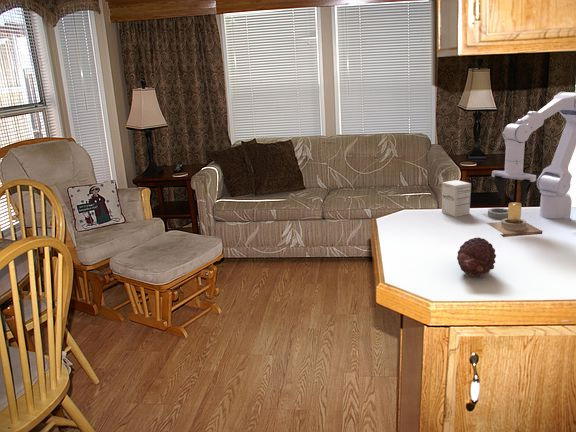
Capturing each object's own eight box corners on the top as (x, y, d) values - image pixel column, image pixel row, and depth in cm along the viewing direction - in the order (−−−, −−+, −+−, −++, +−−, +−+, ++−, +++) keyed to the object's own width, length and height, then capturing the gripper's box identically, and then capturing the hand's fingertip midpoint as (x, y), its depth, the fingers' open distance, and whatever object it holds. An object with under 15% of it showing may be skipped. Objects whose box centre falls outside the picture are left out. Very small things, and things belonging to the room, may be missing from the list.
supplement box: (440, 215, 207) (441, 182, 203) (456, 212, 210) (457, 179, 206) (454, 219, 200) (455, 185, 197) (470, 216, 203) (471, 182, 200)
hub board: (522, 223, 192) (522, 214, 191) (542, 234, 179) (542, 225, 179) (486, 225, 191) (486, 217, 190) (503, 237, 178) (504, 228, 178)
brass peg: (509, 224, 188) (510, 201, 185) (521, 226, 185) (523, 203, 183) (505, 227, 185) (507, 204, 182) (517, 229, 182) (519, 206, 180)
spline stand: (505, 214, 203) (505, 206, 202) (517, 221, 194) (517, 213, 194) (481, 216, 202) (482, 208, 201) (492, 223, 194) (493, 214, 193)
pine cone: (458, 260, 160) (459, 227, 157) (495, 263, 156) (497, 229, 154) (454, 283, 144) (455, 247, 141) (494, 287, 140) (496, 250, 138)
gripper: (487, 159, 186) (486, 198, 190) (530, 164, 175) (527, 205, 179) (498, 156, 190) (496, 194, 194) (540, 160, 180) (537, 201, 184)
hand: (512, 199), depth 187 cm, fingers open, 7 cm apart
